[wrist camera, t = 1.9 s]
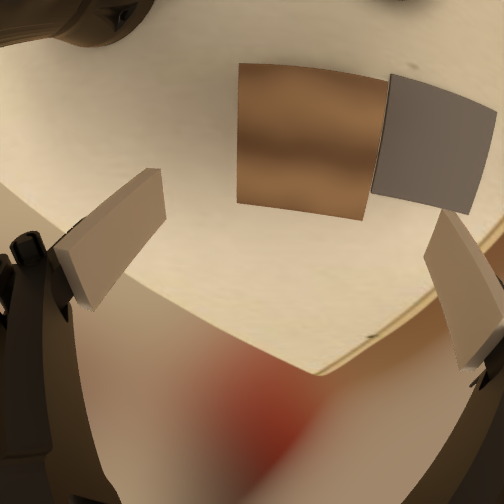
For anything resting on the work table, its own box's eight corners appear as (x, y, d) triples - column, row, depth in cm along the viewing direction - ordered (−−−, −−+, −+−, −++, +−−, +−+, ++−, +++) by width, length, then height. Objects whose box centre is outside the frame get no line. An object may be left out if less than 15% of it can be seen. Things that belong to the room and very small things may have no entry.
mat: (390, 73, 23) (392, 74, 23) (494, 111, 21) (497, 112, 21) (370, 191, 32) (371, 193, 31) (466, 212, 30) (468, 215, 29)
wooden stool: (261, 64, 26) (238, 63, 18) (367, 77, 24) (388, 81, 17) (257, 166, 33) (236, 203, 25) (351, 179, 31) (362, 220, 24)
